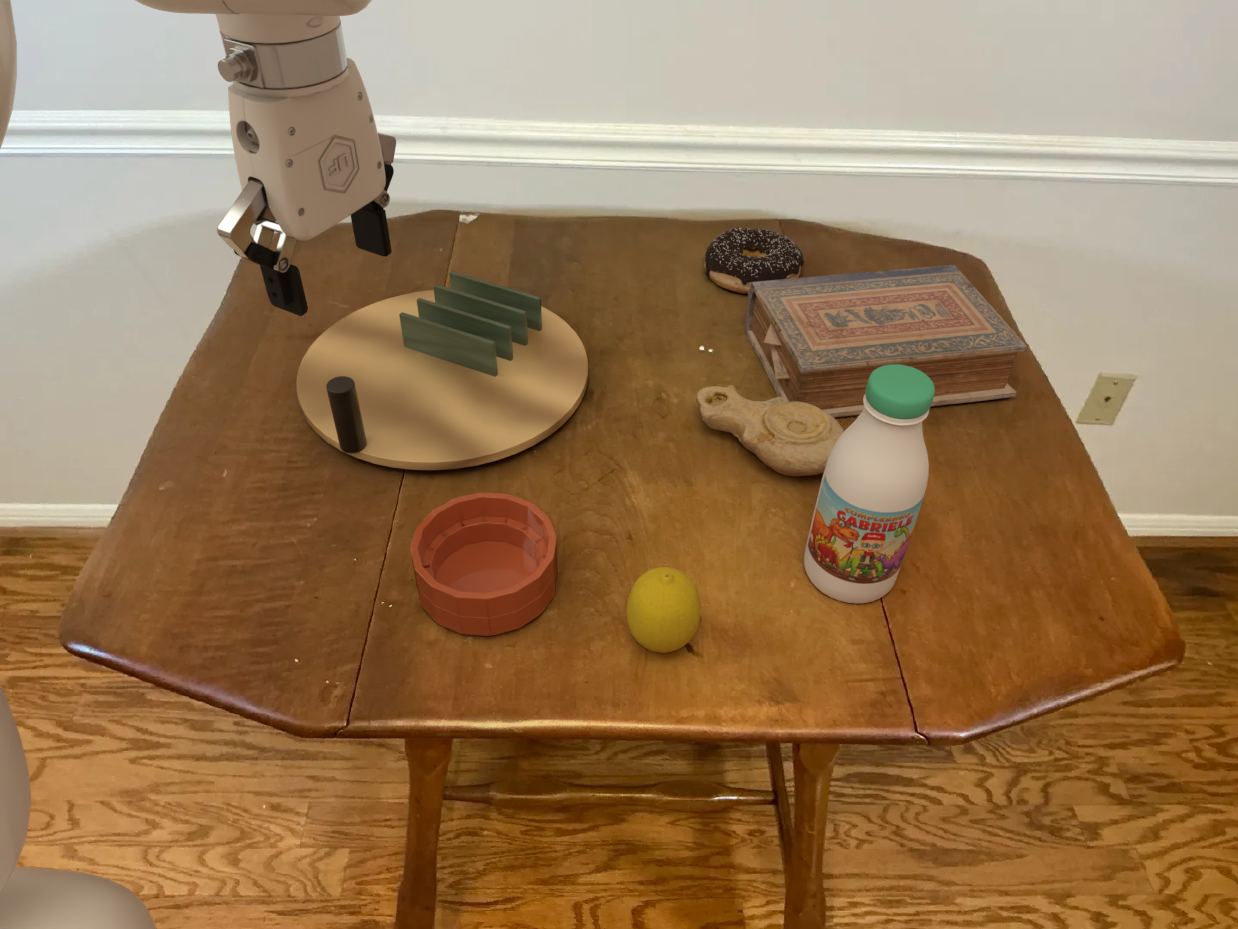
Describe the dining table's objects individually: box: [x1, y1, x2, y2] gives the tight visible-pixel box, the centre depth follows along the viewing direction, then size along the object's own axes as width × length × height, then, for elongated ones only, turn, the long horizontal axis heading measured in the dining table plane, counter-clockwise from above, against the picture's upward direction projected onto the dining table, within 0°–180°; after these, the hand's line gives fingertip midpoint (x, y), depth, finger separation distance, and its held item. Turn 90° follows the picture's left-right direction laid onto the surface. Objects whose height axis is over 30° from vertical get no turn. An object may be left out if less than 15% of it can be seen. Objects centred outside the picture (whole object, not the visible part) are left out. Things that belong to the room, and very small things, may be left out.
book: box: [744, 264, 1028, 418], centre depth 99 cm, size 17×7×25 cm
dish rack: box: [295, 270, 589, 471], centre depth 93 cm, size 30×29×8 cm
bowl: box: [409, 491, 559, 637], centre depth 76 cm, size 11×11×5 cm
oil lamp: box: [695, 384, 845, 477], centre depth 88 cm, size 11×14×5 cm
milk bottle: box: [803, 364, 935, 605], centre depth 73 cm, size 8×8×20 cm
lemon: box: [626, 566, 702, 654], centre depth 71 cm, size 6×6×8 cm
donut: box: [703, 227, 805, 295], centre depth 113 cm, size 11×12×4 cm
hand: (333, 278), depth 74 cm, fingers open, 9 cm apart
